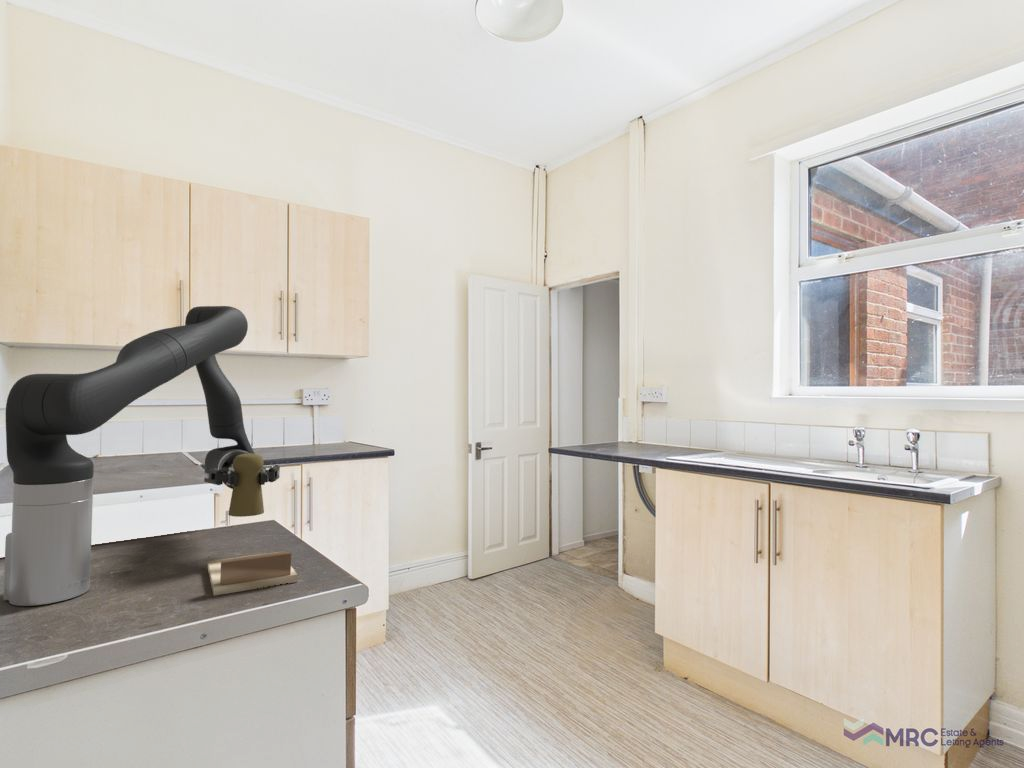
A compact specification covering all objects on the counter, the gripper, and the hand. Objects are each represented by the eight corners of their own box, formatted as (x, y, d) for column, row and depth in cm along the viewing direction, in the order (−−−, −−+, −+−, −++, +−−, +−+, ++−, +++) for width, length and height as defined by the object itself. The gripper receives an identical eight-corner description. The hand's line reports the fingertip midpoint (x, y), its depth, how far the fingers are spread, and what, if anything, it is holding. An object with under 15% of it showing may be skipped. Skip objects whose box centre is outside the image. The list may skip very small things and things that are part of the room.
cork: (231, 510, 102) (233, 452, 103) (266, 509, 104) (268, 452, 105) (225, 517, 97) (227, 455, 97) (261, 515, 99) (264, 455, 99)
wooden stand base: (207, 568, 94) (208, 541, 95) (281, 558, 101) (281, 532, 101) (213, 595, 82) (214, 564, 82) (297, 582, 88) (297, 553, 88)
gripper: (200, 452, 109) (205, 460, 95) (276, 450, 117) (291, 457, 102) (198, 489, 109) (203, 503, 94) (274, 484, 116) (290, 497, 102)
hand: (249, 479), depth 98 cm, fingers closed on cork, 4 cm apart
